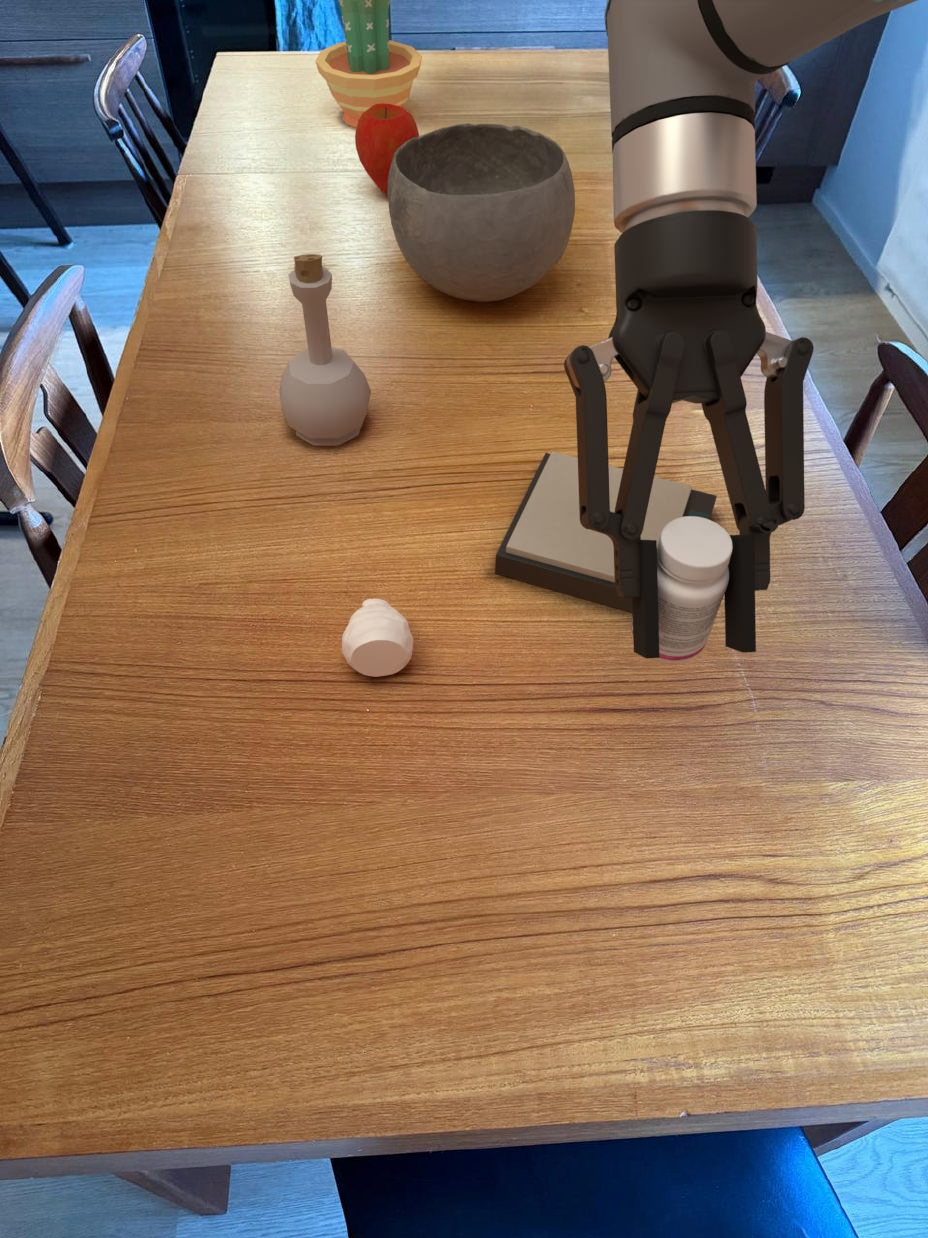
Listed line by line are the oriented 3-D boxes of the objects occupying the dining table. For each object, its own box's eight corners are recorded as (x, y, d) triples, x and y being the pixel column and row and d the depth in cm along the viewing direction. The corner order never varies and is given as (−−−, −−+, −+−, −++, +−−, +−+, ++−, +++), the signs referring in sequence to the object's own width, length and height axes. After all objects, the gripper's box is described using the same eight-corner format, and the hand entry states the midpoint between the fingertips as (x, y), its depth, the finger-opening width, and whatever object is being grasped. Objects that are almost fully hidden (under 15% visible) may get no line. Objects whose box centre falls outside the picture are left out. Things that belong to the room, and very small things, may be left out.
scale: (711, 514, 82) (719, 488, 79) (678, 626, 73) (686, 601, 71) (543, 471, 85) (546, 445, 83) (494, 573, 77) (496, 547, 74)
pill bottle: (722, 646, 55) (759, 552, 49) (661, 677, 54) (690, 584, 47) (673, 595, 58) (702, 500, 52) (614, 623, 56) (636, 529, 50)
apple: (346, 187, 121) (338, 100, 112) (400, 172, 124) (397, 86, 116) (378, 213, 116) (372, 125, 108) (433, 196, 119) (432, 109, 111)
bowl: (581, 253, 111) (596, 124, 99) (546, 346, 98) (558, 211, 86) (422, 229, 114) (419, 102, 102) (368, 316, 101) (358, 182, 90)
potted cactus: (383, 88, 142) (373, -111, 123) (444, 120, 135) (443, -86, 115) (301, 113, 136) (276, -93, 116) (360, 148, 128) (344, -66, 109)
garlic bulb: (408, 616, 74) (405, 572, 69) (416, 675, 70) (414, 632, 66) (341, 623, 73) (335, 579, 69) (345, 683, 69) (339, 640, 65)
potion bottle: (288, 458, 86) (257, 285, 72) (282, 401, 91) (252, 230, 77) (379, 447, 87) (366, 275, 73) (367, 392, 92) (353, 222, 79)
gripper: (811, 244, 53) (815, 635, 55) (512, 253, 52) (529, 652, 54) (878, 198, 45) (879, 651, 48) (531, 207, 44) (549, 671, 47)
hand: (693, 651), depth 51 cm, fingers closed on pill bottle, 5 cm apart
